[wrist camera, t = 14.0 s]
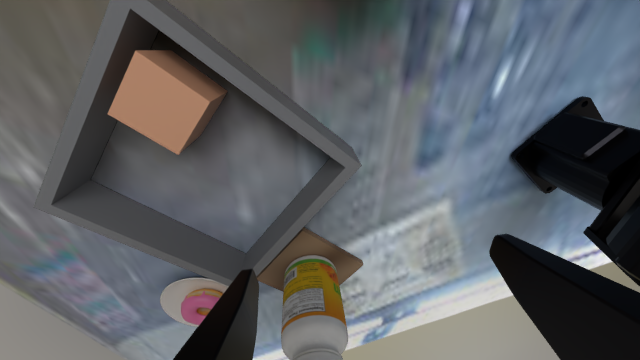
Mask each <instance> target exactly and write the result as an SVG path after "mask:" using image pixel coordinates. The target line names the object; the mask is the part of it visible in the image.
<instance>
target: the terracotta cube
mask: <svg viewBox="0 0 640 360" xmlns="http://www.w3.org/2000/svg"><path fill="white" fill-rule="evenodd" d="M227 92H228V91H227V90H225V89H224V88H223V87H221V86H220V85H218V84H217V83H216V82H214V81H213V80H212V79H210V78H209V77H207V76H206V75H205V74H203V73H202V72H201V71H199V70H198V69H196V68H195V67H194V66H192V65H191V64H190V63H188V62H187V61H185V60H184V59H183V58H181V57H180V56H179V55H177V54H176V53H174V52H173V51H172V50H136V51H135V53H134V55H133V57H132V60H131V62H130V64H129V66H128V69H127V71H126V73H125V75H124V78H123V80H122V82H121V84H120V87H119V89H118V91H117V93H116V96H115V98H114V100H113V103H112V105H111V107H110V109H109V112H108V115H110V116H112V117H114V118H115V119H117V120H119V121H120V122H122V123H124V124H126V125H127V126H129V127H131V128H133V129H134V130H136V131H138V132H139V133H141V134H143V135H145V136H146V137H148V138H150V139H152V140H153V141H155V142H157V143H158V144H160V145H162V146H164V147H165V148H167V149H169V150H171V151H172V152H174V153H176V154H177V155H179V154H180V153H181V152H182V151H183V150H184V149H186V148H187V147H188V146H189V145H190V144H191V143H192V142H193V141H195V140H196V139H197V138H198V137H199V136H200V135H201V134H202V132H203V131H204V129H205V127H206V126H207V124H208V123H209V121H210V119H211V118H212V116H213V115H214V113H215V111H216V110H217V108H218V106H219V105H220V103H221V102H222V100H223V98H224V97H225V95H226V94H227Z"/></svg>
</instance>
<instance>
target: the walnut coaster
mask: <svg viewBox="0 0 640 360" xmlns="http://www.w3.org/2000/svg"><path fill="white" fill-rule="evenodd" d="M308 255H318V256H322V257H325V258H327V259H328V260H330V261H331V262H332V263H333V264H334V266H335V268H336V271H337V276H338V282H339V285H341V284H342V283H343V282H344V281H345V280H346V279H347V278H349V277H350V276H351V275H352V274H353V273H354V272H356V271H357V270H358V269H359V268H360V267H361V266H363V262H362V260H360V259H358V258H357V257H355V256H353V255H352V254H350V253H348V252H346V251H345V250H343V249H341V248H339V247H338V246H336V245H334V244H332V243H331V242H329V241H327V240H325V239H324V238H322V237H320V236H318V235H317V234H315V233H313V232H311V231H310V230H308V229H306V228H304V227H303V228H302V229H301V230H300V231H299V232H298V233H297V234H296V235H295V237H294V238H293V239H292V240H291V241H290V242H289V243H288V244H287V245H286V246H285V247H284V248H283V249H282V250H281V251H280V252H279V253H278V254H277V255H276V257H275V258H274V259H273V260H272V261H271V262H270V263H269V264H268V265H267V266H266V267H265V268H264V269H263V270H262V271H261V272H260V273H259V274H258V276H257V277H256V278H257V280H258V281H260V282H263V283H265V284H267V285H269V286H272V287H274V288H276V289H279V290H281V291H283V292H284V277H285V271H286V269H287V267H288V266H289V265H290V263H292V262H293V261H294V260H296V259H298V258H300V257H303V256H308Z"/></svg>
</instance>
